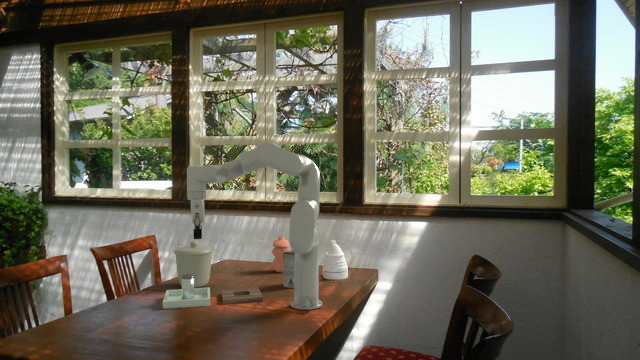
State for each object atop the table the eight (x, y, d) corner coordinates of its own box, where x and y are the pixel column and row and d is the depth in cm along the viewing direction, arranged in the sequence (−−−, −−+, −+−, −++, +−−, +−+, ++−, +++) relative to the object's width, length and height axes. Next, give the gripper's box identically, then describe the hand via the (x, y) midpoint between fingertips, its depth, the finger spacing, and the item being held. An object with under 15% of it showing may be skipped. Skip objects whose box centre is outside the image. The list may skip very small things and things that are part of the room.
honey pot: (318, 275, 235) (318, 240, 235) (339, 272, 241) (339, 238, 241) (330, 280, 224) (330, 244, 223) (352, 277, 230) (352, 242, 229)
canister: (203, 291, 204) (203, 244, 204) (166, 289, 208) (166, 243, 208) (220, 281, 222) (219, 238, 222) (185, 279, 226) (185, 237, 225)
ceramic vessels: (331, 279, 227) (331, 241, 227) (296, 285, 215) (296, 245, 215) (292, 267, 256) (292, 233, 255) (259, 272, 243) (259, 237, 243)
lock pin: (194, 301, 187) (194, 276, 187) (181, 302, 185) (181, 277, 185) (194, 297, 192) (194, 274, 191) (181, 298, 190) (181, 274, 190)
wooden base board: (262, 301, 188) (262, 296, 188) (223, 304, 184) (223, 299, 184) (258, 291, 204) (258, 287, 203) (221, 294, 200) (221, 289, 200)
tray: (210, 306, 182) (210, 298, 182) (162, 309, 178) (162, 301, 177) (209, 294, 199) (209, 287, 199) (166, 297, 195) (166, 290, 195)
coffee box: (292, 282, 220) (292, 249, 220) (304, 284, 217) (304, 250, 217) (283, 286, 212) (282, 252, 212) (295, 288, 209) (295, 253, 209)
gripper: (206, 196, 181) (207, 239, 181) (206, 194, 197) (207, 234, 198) (186, 197, 179) (187, 240, 179) (188, 195, 195) (189, 235, 196)
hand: (197, 237), depth 188 cm, fingers open, 9 cm apart
